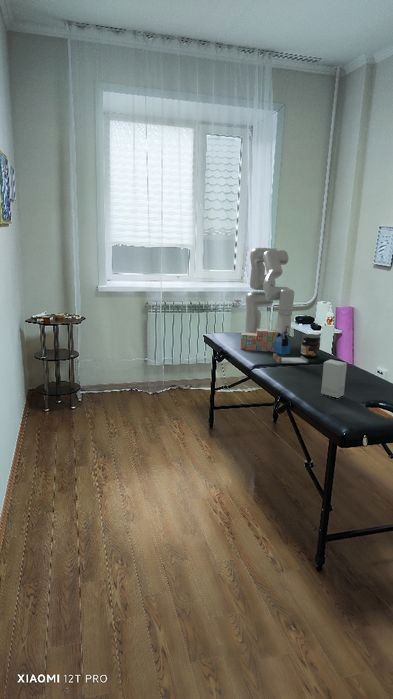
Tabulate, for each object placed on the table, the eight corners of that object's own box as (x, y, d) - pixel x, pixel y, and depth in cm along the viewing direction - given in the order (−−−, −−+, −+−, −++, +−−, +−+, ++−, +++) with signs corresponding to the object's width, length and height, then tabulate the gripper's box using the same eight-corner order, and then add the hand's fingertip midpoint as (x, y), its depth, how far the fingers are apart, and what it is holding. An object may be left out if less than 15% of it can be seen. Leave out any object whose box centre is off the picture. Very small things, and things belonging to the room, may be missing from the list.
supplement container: (299, 357, 262) (301, 337, 259) (300, 352, 272) (302, 333, 269) (318, 359, 260) (320, 339, 256) (319, 355, 269) (321, 335, 266)
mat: (275, 358, 258) (276, 355, 257) (301, 358, 260) (302, 355, 260) (281, 363, 249) (281, 360, 249) (308, 363, 252) (308, 360, 251)
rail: (272, 358, 258) (273, 353, 257) (274, 358, 258) (275, 353, 257) (279, 363, 248) (279, 358, 247) (281, 363, 248) (281, 358, 248)
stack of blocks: (240, 349, 273) (241, 329, 270) (240, 347, 279) (241, 327, 276) (276, 352, 271) (278, 332, 268) (275, 349, 278) (277, 329, 274)
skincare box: (343, 396, 203) (348, 362, 199) (337, 400, 198) (341, 365, 194) (326, 391, 208) (330, 358, 204) (319, 394, 203) (323, 361, 199)
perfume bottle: (273, 351, 254) (276, 330, 251) (282, 350, 257) (285, 329, 254) (280, 354, 249) (283, 333, 246) (289, 353, 252) (292, 332, 248)
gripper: (273, 309, 254) (270, 340, 259) (284, 315, 238) (281, 348, 242) (285, 309, 255) (282, 340, 260) (298, 315, 239) (294, 348, 244)
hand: (282, 343), depth 251 cm, fingers closed on perfume bottle, 7 cm apart
